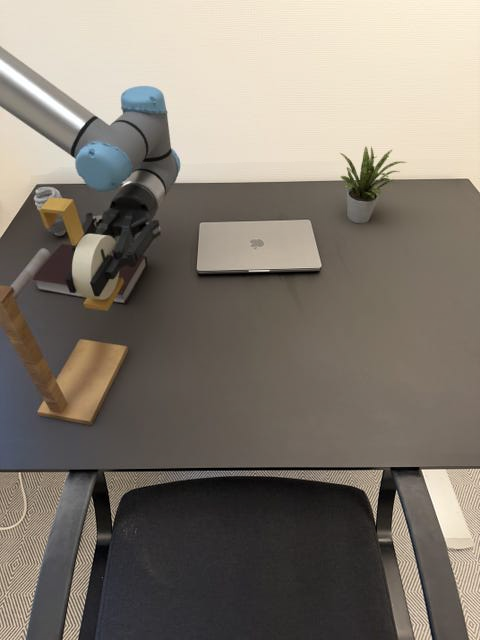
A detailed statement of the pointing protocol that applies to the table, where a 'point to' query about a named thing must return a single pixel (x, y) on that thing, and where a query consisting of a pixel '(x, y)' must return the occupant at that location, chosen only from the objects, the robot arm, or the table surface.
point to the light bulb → (58, 225)
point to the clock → (84, 253)
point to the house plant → (365, 186)
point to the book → (59, 268)
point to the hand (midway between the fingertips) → (82, 287)
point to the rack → (80, 369)
